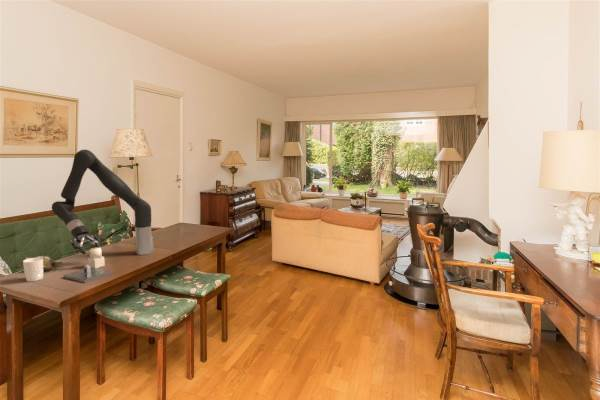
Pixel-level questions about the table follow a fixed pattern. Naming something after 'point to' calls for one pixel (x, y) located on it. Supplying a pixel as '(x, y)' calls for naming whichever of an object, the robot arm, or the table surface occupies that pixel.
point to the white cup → (33, 269)
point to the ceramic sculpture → (47, 262)
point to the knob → (96, 258)
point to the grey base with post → (87, 274)
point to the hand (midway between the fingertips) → (92, 251)
